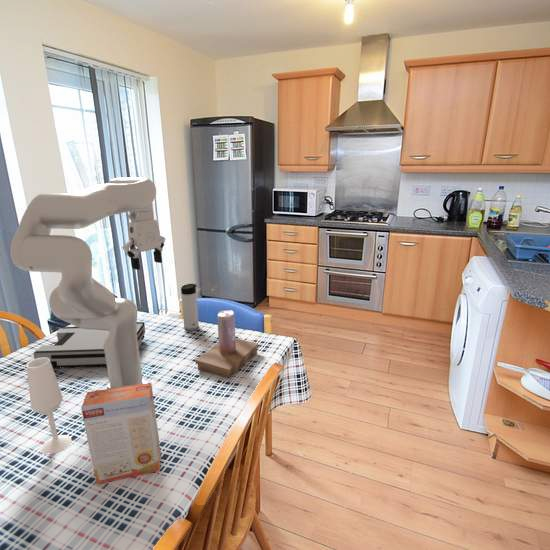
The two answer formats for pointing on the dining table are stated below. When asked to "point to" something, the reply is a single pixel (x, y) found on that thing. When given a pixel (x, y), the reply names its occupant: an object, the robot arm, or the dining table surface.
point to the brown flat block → (227, 359)
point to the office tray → (80, 347)
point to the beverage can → (226, 332)
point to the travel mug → (189, 307)
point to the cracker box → (122, 432)
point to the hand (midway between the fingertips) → (147, 265)
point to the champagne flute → (46, 399)
